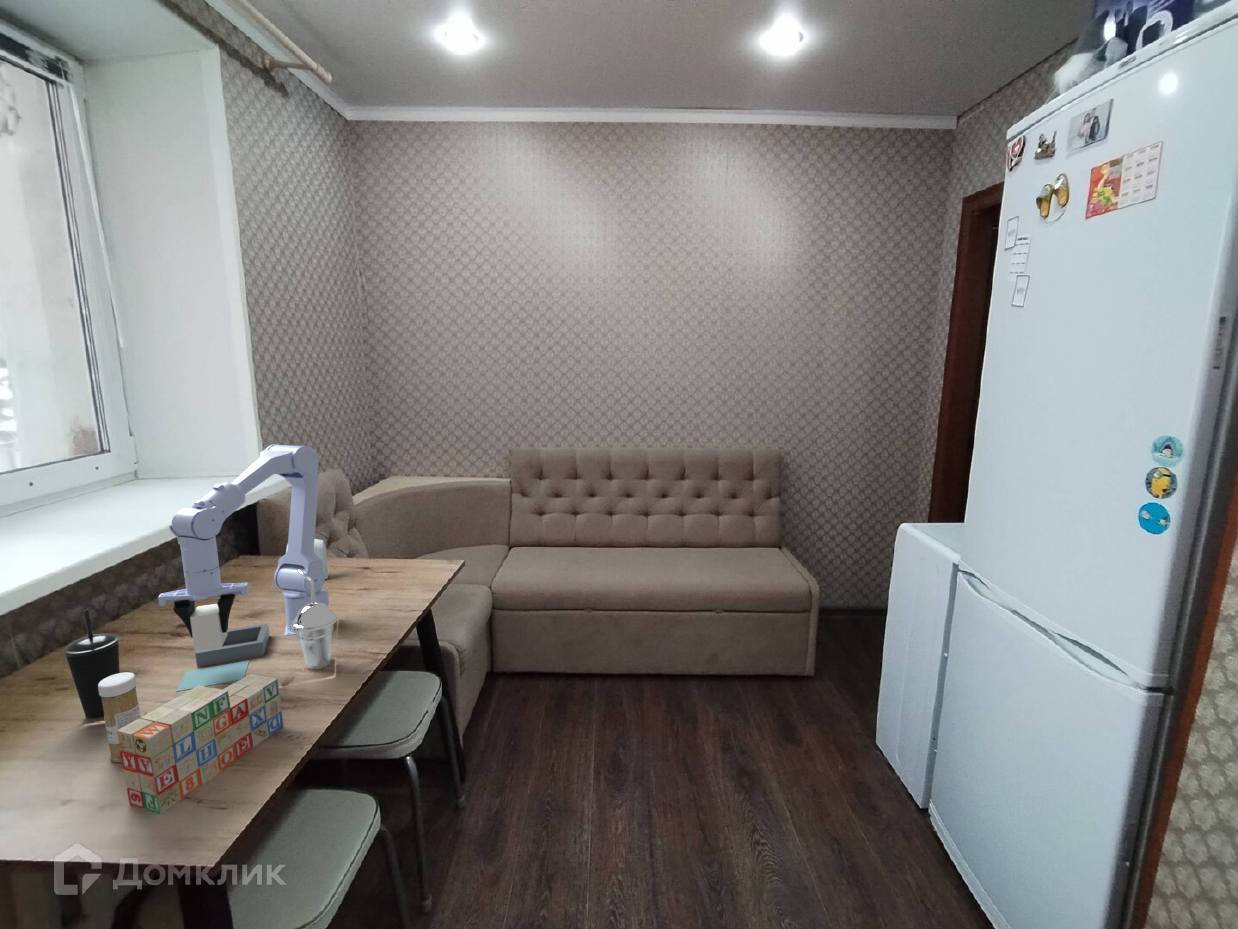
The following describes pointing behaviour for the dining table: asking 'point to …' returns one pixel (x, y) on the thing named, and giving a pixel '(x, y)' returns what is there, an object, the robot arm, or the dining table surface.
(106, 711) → the sprinkles bottle
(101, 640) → the drinking cup
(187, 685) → the mat
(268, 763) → the dining table surface
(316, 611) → the cup with straw
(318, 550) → the photo printer
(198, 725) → the stack of blocks
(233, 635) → the case
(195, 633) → the block
